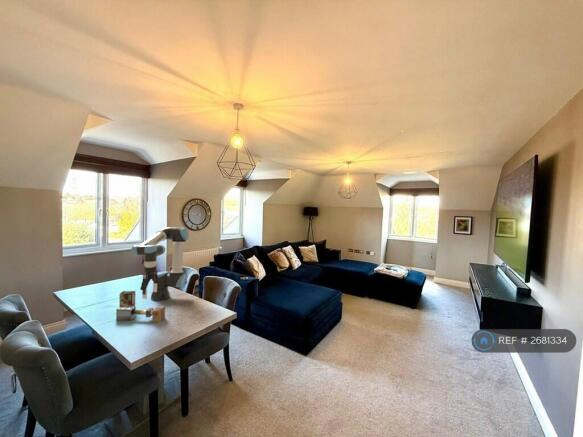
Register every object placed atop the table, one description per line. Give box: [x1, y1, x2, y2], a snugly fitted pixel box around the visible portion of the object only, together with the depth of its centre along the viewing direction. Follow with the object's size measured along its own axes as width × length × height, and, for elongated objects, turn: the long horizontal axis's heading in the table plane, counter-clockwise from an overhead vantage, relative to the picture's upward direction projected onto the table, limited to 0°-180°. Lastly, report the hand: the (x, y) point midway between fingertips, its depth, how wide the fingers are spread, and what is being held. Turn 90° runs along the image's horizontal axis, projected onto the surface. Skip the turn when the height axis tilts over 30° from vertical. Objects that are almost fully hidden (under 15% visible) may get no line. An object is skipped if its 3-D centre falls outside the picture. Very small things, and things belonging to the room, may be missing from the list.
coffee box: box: [119, 290, 136, 307], centre depth 188 cm, size 9×6×16 cm
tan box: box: [151, 305, 166, 324], centre depth 178 cm, size 8×5×9 cm, turn 1°
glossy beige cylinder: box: [134, 307, 154, 318], centre depth 178 cm, size 5×17×5 cm, turn 91°
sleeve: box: [115, 305, 137, 322], centre depth 177 cm, size 6×10×8 cm, turn 91°
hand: (150, 295), depth 177 cm, fingers open, 13 cm apart
